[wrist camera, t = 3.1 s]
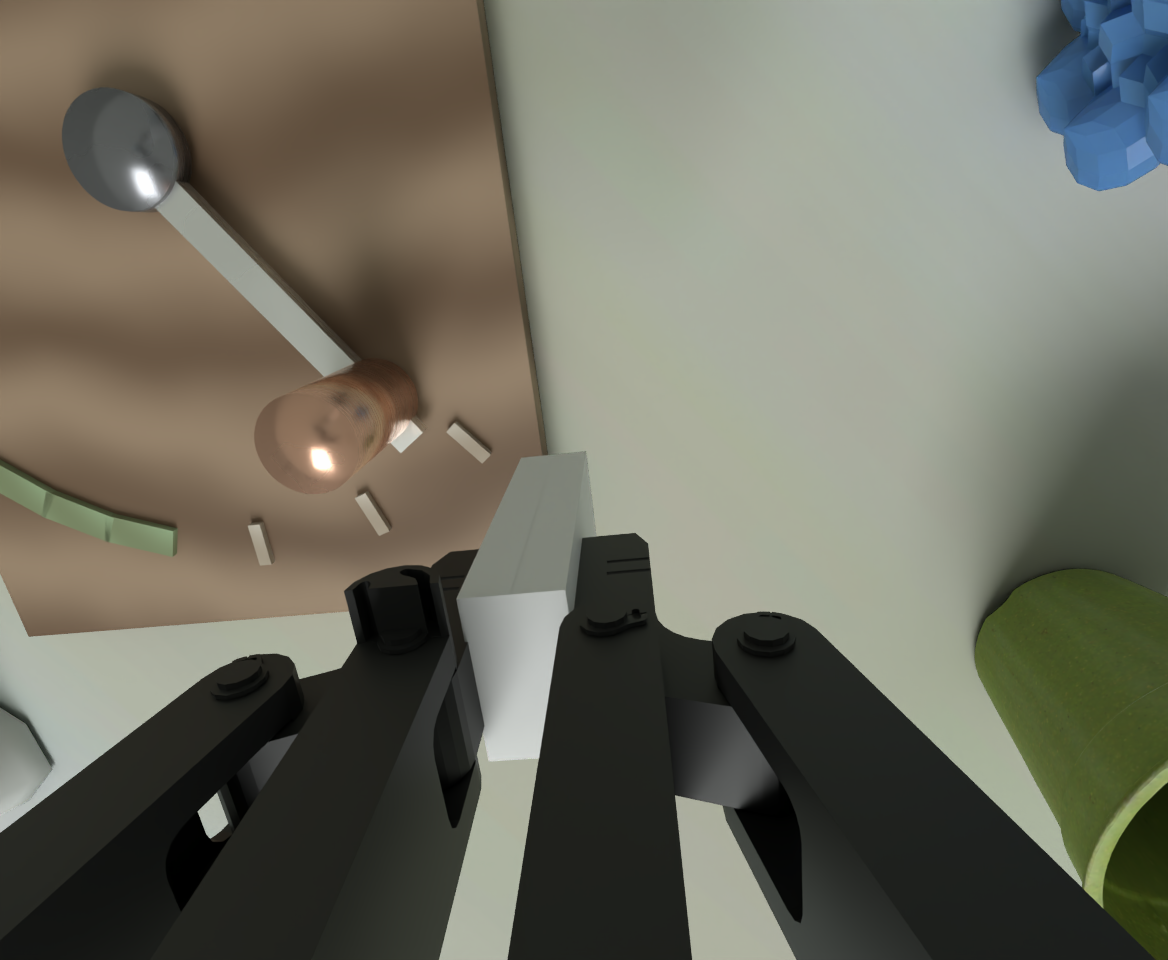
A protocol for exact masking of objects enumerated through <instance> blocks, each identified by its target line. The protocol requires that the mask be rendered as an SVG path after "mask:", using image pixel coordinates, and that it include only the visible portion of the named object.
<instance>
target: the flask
mask: <svg viewBox="0 0 1168 960" xmlns="http://www.w3.org/2000/svg"><path fill="white" fill-rule="evenodd" d="M51 771H52V768H51V766H50V764H49V763H48V761H47V759H46V757H45V756H44V754H43V752H42V751H41V749H40V747H39V745H38V744H37V742H36V740H35V739H34V737H33V735H32V734H31V732H30V730H29V728H28V727H27V725H26V724H25V723H24V722H22V721H21V720H19V719H17V718H16V717H14V716H12V715H11V714H9V713H8V712H6V711H4V710H3V709H1V708H0V815H2V814H4V813H7V812H9V811H11V810H12V809H14V808H16V807H18V806H20V805H22V804H24V803H26V802H28V801H29V800H30V799H31V797H32V796H33V795H34V793H35V792H36V791H37V789H38V788H39V787H40V785H41V784H42V783H43V781H44V780H45V779H46V777H47V776H48V775H49V773H50V772H51Z"/></svg>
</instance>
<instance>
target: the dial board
mask: <svg viewBox="0 0 1168 960" xmlns="http://www.w3.org/2000/svg"><path fill="white" fill-rule="evenodd" d="M100 87H109V88H115V89H119V90H123V91H126V92H129V93H133V94H136V95H139V96H142V97H145V98H147V99H150V100H152V101H154V102H155V103H157V104H158V105H160V106H161V107H162V108H164V109H165V110H166V111H167V112H168V113H169V114H170V115H171V116H172V117H173V118H174V119H175V121H176V122H177V123H178V125H179V126H180V128H181V130H182V131H183V133H184V135H185V138H186V140H187V142H188V146H189V149H190V154H191V160H192V173H191V179H190V183H189V184H190V185H191V186H192V187H193V188H194V189H195V190H196V191H197V192H198V193H199V194H200V195H201V196H202V197H203V198H204V199H205V200H206V201H207V202H208V203H209V204H210V205H211V206H212V207H213V208H214V209H215V210H216V211H217V212H218V213H219V214H220V215H221V216H222V217H223V218H224V220H225V221H226V222H227V223H228V224H229V225H230V226H231V227H232V228H233V229H234V230H235V231H236V232H237V233H238V234H239V235H240V236H241V237H242V238H243V239H244V240H245V241H246V242H247V243H248V244H249V245H250V246H251V247H252V248H253V249H254V250H255V251H256V252H257V253H258V254H259V255H260V256H261V257H262V258H263V259H264V260H265V261H266V262H267V263H268V264H269V266H270V267H271V268H272V269H273V270H274V271H275V272H276V273H277V274H278V275H279V276H280V277H281V278H282V279H283V280H284V281H285V282H286V283H287V284H288V285H289V286H290V287H291V288H292V289H293V290H294V291H295V292H296V293H297V294H298V295H299V296H300V297H301V298H302V299H303V300H304V301H305V302H306V303H307V304H308V305H309V306H310V307H311V308H312V309H313V310H314V312H315V313H316V314H317V315H318V316H319V317H320V318H321V319H322V320H323V321H324V322H325V323H326V324H327V325H328V326H329V327H330V328H331V329H332V330H333V331H334V332H335V333H336V334H337V335H338V336H339V337H340V338H341V339H342V340H343V341H344V342H345V343H346V344H347V345H348V346H349V347H350V348H351V349H352V350H353V351H354V352H355V353H356V354H357V355H358V356H359V357H360V359H361V360H363V359H368V358H379V359H384V360H387V361H390V362H392V363H394V364H396V365H397V366H399V367H400V368H401V369H403V370H404V371H405V372H406V373H407V375H408V376H409V377H410V379H411V380H412V382H413V384H414V386H415V388H416V391H417V396H418V409H417V413H416V416H417V417H418V418H419V419H420V420H421V421H422V422H423V423H424V424H425V425H426V426H427V427H428V428H427V429H426V430H425V431H424V432H423V433H422V434H421V435H420V436H419V437H418V438H417V439H416V440H415V441H413V442H412V443H411V444H410V445H409V446H408V447H407V448H406V449H405V450H404V451H403V452H402V453H400V452H399V451H398V450H397V449H396V448H395V447H394V446H393V445H392V444H391V443H390V444H389V445H388V446H387V447H385V448H384V449H383V450H382V451H381V452H380V453H379V454H377V455H376V456H375V457H374V458H373V459H372V460H371V461H369V462H368V463H367V464H366V465H365V466H364V467H363V468H361V469H360V470H359V471H358V472H357V473H356V474H354V475H353V476H352V477H351V478H350V479H349V480H348V481H346V482H345V483H344V484H343V485H342V486H340V487H339V488H337V489H335V490H333V491H331V492H327V493H323V494H305V493H300V492H297V491H294V490H292V489H289V488H287V487H286V486H284V485H282V484H281V483H279V482H278V481H277V480H276V479H274V478H273V477H272V476H271V475H270V474H269V473H268V471H267V470H266V469H265V467H264V466H263V464H262V463H261V461H260V459H259V457H258V454H257V451H256V448H255V442H254V430H255V425H256V421H257V419H258V416H259V415H260V413H261V411H262V410H263V409H264V408H265V406H267V405H268V404H269V403H270V402H271V401H273V400H274V399H276V398H278V397H281V396H283V395H285V394H287V393H289V392H292V391H294V390H296V389H298V388H300V387H303V386H305V385H307V384H309V383H311V382H314V381H316V380H318V379H320V378H322V377H324V376H323V375H322V374H321V373H320V372H319V371H318V370H317V369H316V368H315V367H314V366H313V365H312V364H311V363H310V362H309V361H308V360H307V359H306V358H305V357H304V356H303V355H302V354H301V353H300V352H299V351H298V350H297V349H296V348H295V347H294V346H293V345H292V344H291V343H290V342H289V341H288V340H287V339H286V338H285V337H284V336H283V335H282V334H281V333H280V332H279V331H278V330H277V329H276V328H275V327H274V326H273V325H272V324H271V323H270V322H269V321H268V320H267V319H266V318H265V317H264V316H263V315H262V314H261V313H260V312H259V311H258V310H257V309H256V308H255V307H254V306H253V305H252V304H251V303H250V302H249V301H248V300H247V299H246V298H245V297H244V296H243V295H242V294H241V293H240V292H239V291H238V290H237V289H236V288H235V287H234V286H233V285H232V284H231V283H230V282H229V281H228V280H227V279H226V278H225V277H224V276H223V275H222V274H221V273H220V272H219V271H218V270H217V269H216V268H215V267H214V266H213V265H212V264H211V263H210V262H209V261H208V260H207V259H206V258H205V257H204V256H203V255H202V254H201V253H200V252H199V251H198V250H197V249H196V248H195V247H194V246H193V245H192V244H191V243H190V242H189V241H188V240H187V239H186V238H185V237H184V236H183V235H182V234H181V233H180V232H179V231H178V230H177V229H176V228H175V227H174V226H173V225H172V224H171V223H170V222H169V221H168V220H167V219H166V218H165V217H164V216H163V215H162V214H161V213H160V212H154V213H145V212H129V211H121V210H117V209H113V208H111V207H108V206H106V205H104V204H102V203H100V202H99V201H97V200H96V199H95V198H93V197H92V196H91V195H90V194H89V193H87V192H86V191H85V189H84V188H83V187H82V186H81V185H80V184H79V182H78V181H77V180H76V178H75V177H74V175H73V173H72V172H71V170H70V168H69V165H68V163H67V160H66V158H65V154H64V150H63V144H62V126H63V121H64V117H65V115H66V112H67V110H68V108H69V107H70V105H71V104H72V102H73V101H74V100H75V99H76V98H77V97H78V96H80V95H81V94H82V93H84V92H86V91H88V90H91V89H95V88H100ZM544 455H548V452H547V445H546V438H545V431H544V424H543V417H542V410H541V403H540V396H539V389H538V382H537V375H536V368H535V361H534V354H533V347H532V340H531V333H530V326H529V319H528V312H527V305H526V298H525V291H524V284H523V276H522V269H521V262H520V255H519V248H518V241H517V234H516V227H515V220H514V213H513V206H512V199H511V192H510V185H509V178H508V171H507V164H506V157H505V150H504V143H503V136H502V129H501V122H500V115H499V108H498V101H497V94H496V87H495V80H494V72H493V65H492V58H491V51H490V44H489V37H488V30H487V23H486V16H485V9H484V2H483V0H0V574H1V576H2V578H3V581H4V583H5V585H6V587H7V589H8V592H9V594H10V596H11V598H12V600H13V603H14V605H15V607H16V609H17V612H18V614H19V616H20V618H21V620H22V623H23V625H24V627H25V629H26V631H27V634H28V636H29V637H30V636H43V635H55V634H68V633H80V632H93V631H106V630H118V629H131V628H144V627H156V626H169V625H181V624H194V623H207V622H219V621H232V620H245V619H257V618H270V617H283V616H295V615H308V614H320V613H333V612H346V611H349V609H348V605H347V602H346V598H345V594H344V590H345V589H347V588H348V587H349V586H350V585H351V584H352V583H354V582H355V581H357V580H359V579H361V578H363V577H365V576H367V575H369V574H371V573H374V572H377V571H380V570H383V569H386V568H392V567H397V566H403V565H423V566H426V567H430V568H431V566H432V565H433V564H434V563H436V562H437V561H438V560H440V559H441V558H442V557H444V556H445V555H446V554H448V553H449V552H452V551H464V550H475V549H479V548H480V546H481V544H482V542H483V540H484V538H485V535H486V533H487V531H488V529H489V527H490V525H491V522H492V520H493V518H494V516H495V514H496V511H497V509H498V507H499V505H500V503H501V501H502V498H503V496H504V494H505V492H506V490H507V488H508V485H509V483H510V481H511V479H512V477H513V474H514V472H515V470H516V468H517V466H518V464H519V461H520V459H521V458H524V457H534V456H544Z"/></svg>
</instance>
